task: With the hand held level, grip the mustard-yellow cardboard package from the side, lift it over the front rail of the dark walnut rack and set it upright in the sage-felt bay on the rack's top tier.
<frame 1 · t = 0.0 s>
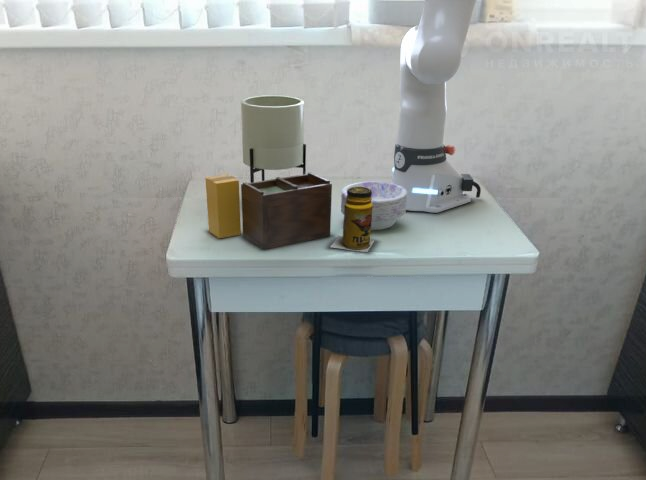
package: (224, 233, 160), on the table
paper bowls: (372, 225, 166), on the table
planter: (274, 199, 181), on the table
rack: (286, 236, 158), on the table
condiment: (352, 245, 154), on the table
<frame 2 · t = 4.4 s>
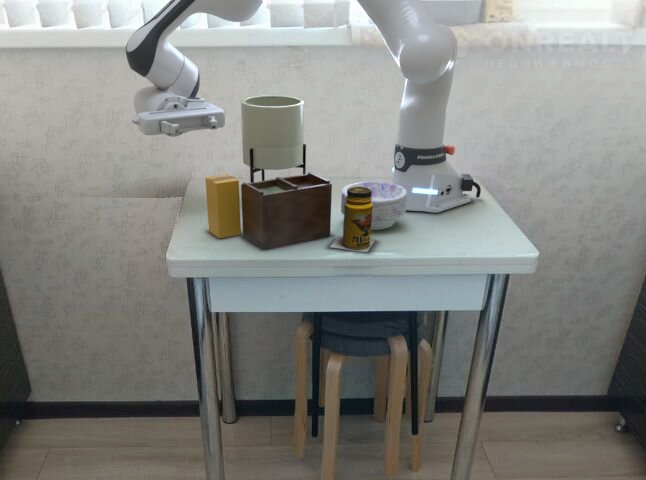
hand: (195, 127, 156), 20 cm above the table, tool horizontal, fingers open, 8 cm apart
nothing on the table moved.
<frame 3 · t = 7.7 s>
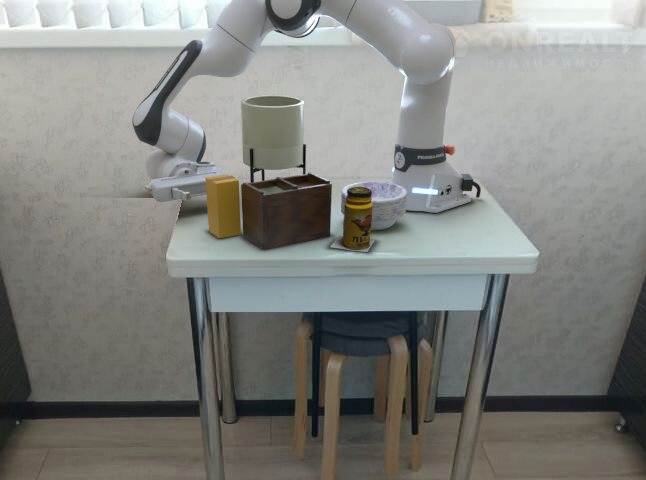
hand: (206, 193, 162), 6 cm above the table, tool horizontal, fingers open, 8 cm apart
nothing on the table moved.
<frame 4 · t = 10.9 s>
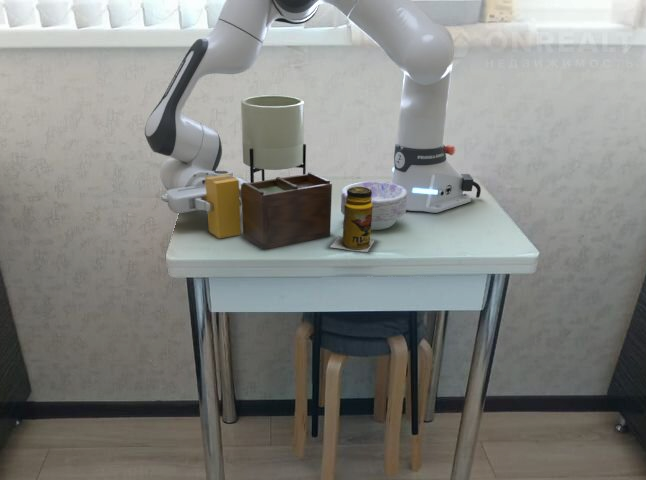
hand: (225, 205, 155), 7 cm above the table, tool horizontal, fingers closed on package, 5 cm apart
package: (224, 233, 160), on the table, touching gripper
everything else where it was.
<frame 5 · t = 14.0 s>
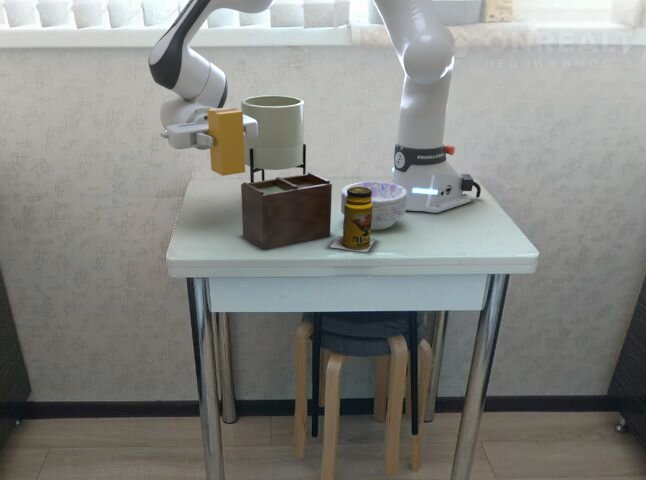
hand: (228, 139, 147), 20 cm above the table, tool horizontal, fingers closed on package, 5 cm apart
package: (228, 171, 151), point 14 cm above the table, touching gripper
everything else where it was.
when the fingers open (17 cm above the table, at t = 17.5 s): package stays where it is, resting on rack.
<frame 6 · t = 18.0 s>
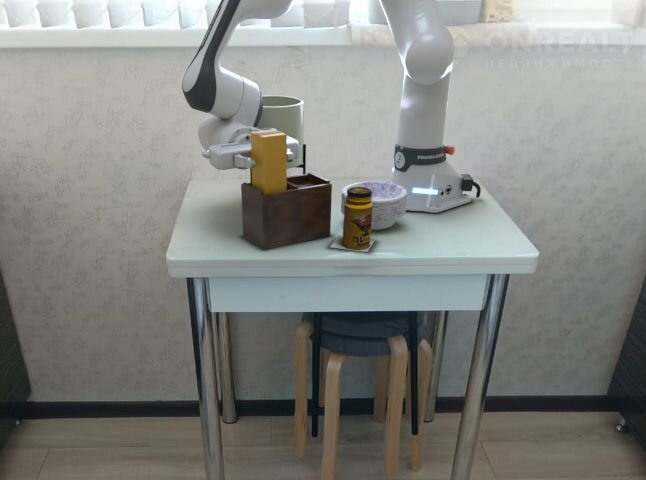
hand: (271, 161, 146), 17 cm above the table, tool horizontal, fingers open, 8 cm apart
package: (269, 192, 151), point 10 cm above the table, touching rack
everything else where it was.
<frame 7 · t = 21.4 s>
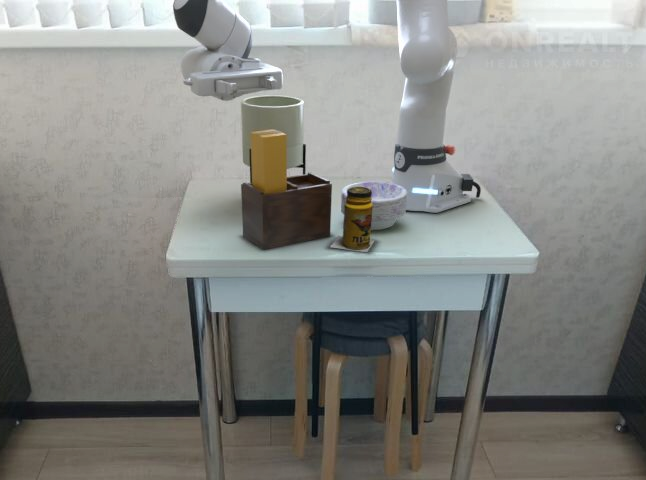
hand: (254, 86, 143), 30 cm above the table, tool horizontal, fingers open, 8 cm apart
nothing on the table moved.
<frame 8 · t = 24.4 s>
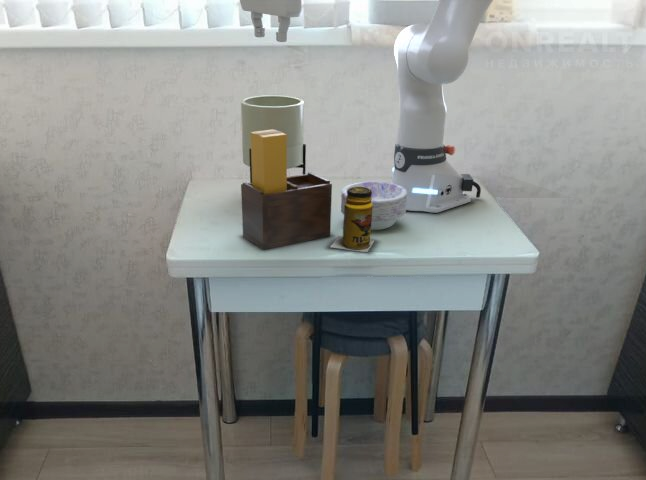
hand: (270, 39, 148), 37 cm above the table, tool pointing down, fingers open, 8 cm apart
nothing on the table moved.
at the end: package 0.1 cm from the target spot on the rack, point 10.2 cm above the rack's base; package tilted 0°; the gripper is holding nothing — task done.
